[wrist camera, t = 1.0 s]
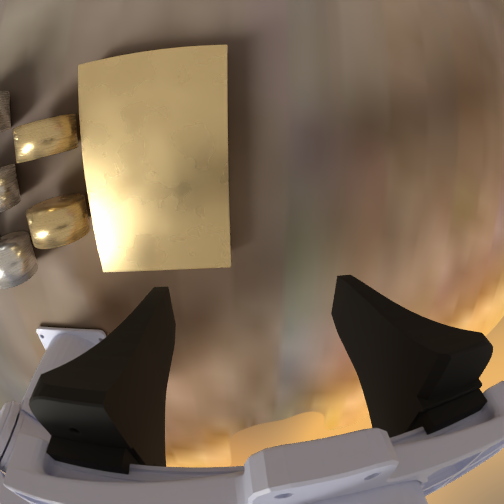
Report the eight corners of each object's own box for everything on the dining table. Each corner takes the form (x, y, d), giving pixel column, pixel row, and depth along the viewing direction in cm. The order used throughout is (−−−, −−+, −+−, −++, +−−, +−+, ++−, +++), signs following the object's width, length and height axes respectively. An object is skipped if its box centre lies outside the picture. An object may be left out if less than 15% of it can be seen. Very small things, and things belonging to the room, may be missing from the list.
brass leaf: (229, 253, 22) (232, 286, 18) (60, 260, 21) (36, 290, 17) (226, 51, 16) (228, 34, 12) (34, 84, 14) (-2, 84, 10)
